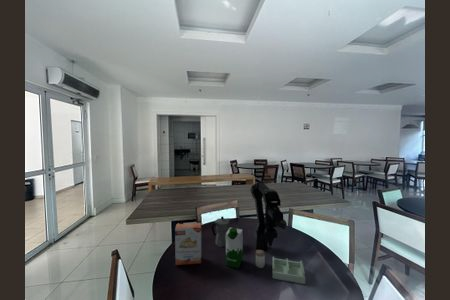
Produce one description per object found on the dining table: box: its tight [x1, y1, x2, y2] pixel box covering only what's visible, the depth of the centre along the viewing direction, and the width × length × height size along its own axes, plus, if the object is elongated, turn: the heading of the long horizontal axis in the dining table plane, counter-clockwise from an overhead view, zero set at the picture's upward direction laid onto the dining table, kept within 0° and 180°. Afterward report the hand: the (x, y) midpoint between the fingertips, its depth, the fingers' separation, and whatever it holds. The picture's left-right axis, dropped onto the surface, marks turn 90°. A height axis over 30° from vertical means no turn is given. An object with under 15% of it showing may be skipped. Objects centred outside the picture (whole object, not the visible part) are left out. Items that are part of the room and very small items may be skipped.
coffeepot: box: [210, 216, 231, 248], centre depth 119 cm, size 15×9×18 cm, turn 129°
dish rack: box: [271, 256, 306, 285], centre depth 93 cm, size 15×11×5 cm
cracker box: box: [174, 222, 202, 266], centre depth 102 cm, size 14×6×21 cm, turn 97°
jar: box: [255, 250, 266, 269], centre depth 99 cm, size 5×5×7 cm
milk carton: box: [225, 227, 244, 269], centre depth 101 cm, size 9×9×20 cm
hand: (269, 241), depth 100 cm, fingers open, 9 cm apart
